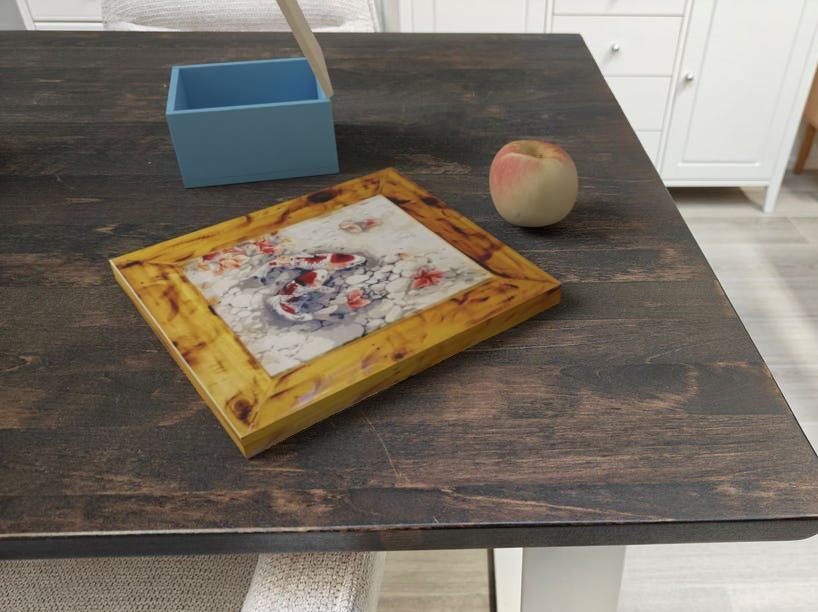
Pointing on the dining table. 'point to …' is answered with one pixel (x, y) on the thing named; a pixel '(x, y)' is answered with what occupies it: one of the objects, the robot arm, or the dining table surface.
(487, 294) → the picture frame
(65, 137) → the dining table surface
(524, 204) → the apple
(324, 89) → the cooler lid
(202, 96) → the box
